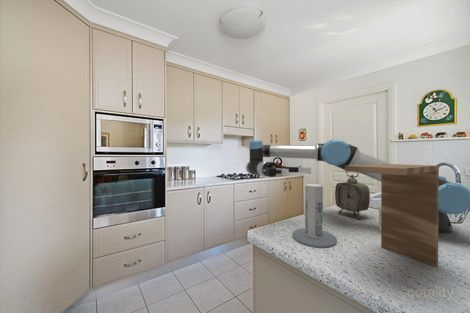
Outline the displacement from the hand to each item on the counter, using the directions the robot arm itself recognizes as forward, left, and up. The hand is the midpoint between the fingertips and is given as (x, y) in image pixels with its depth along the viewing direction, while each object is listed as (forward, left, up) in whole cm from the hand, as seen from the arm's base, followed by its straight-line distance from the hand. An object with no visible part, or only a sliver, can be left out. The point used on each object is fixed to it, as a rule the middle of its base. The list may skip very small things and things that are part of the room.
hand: (299, 171), depth 82 cm
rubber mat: (-5, +5, -26) cm, 27 cm away
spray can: (-5, +5, -25) cm, 26 cm away
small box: (-37, -8, -26) cm, 46 cm away
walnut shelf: (-25, +19, -26) cm, 40 cm away
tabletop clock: (-29, -31, -26) cm, 50 cm away
